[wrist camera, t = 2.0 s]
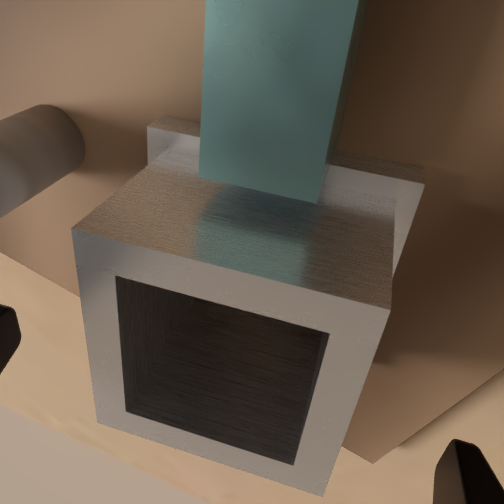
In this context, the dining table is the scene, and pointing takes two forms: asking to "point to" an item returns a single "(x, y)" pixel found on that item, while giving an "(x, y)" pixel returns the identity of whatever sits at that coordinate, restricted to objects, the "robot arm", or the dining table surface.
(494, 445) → the dining table surface
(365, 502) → the dining table surface
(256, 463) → the grey piece
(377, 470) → the dining table surface
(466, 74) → the post board
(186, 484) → the dining table surface
